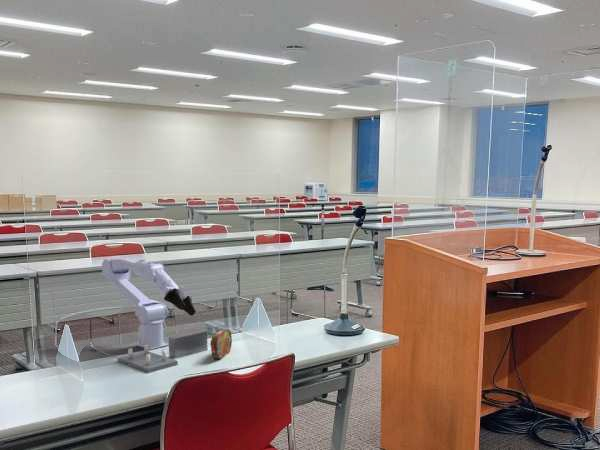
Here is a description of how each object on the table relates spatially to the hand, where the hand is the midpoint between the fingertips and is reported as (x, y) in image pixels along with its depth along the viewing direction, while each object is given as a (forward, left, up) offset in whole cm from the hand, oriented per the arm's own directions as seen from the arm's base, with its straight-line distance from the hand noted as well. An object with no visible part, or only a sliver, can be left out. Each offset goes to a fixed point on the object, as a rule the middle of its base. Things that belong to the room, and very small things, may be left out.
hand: (188, 310), depth 186 cm
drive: (-3, +2, -16) cm, 16 cm away
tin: (+8, +8, -16) cm, 20 cm away
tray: (-4, -14, -16) cm, 22 cm away
